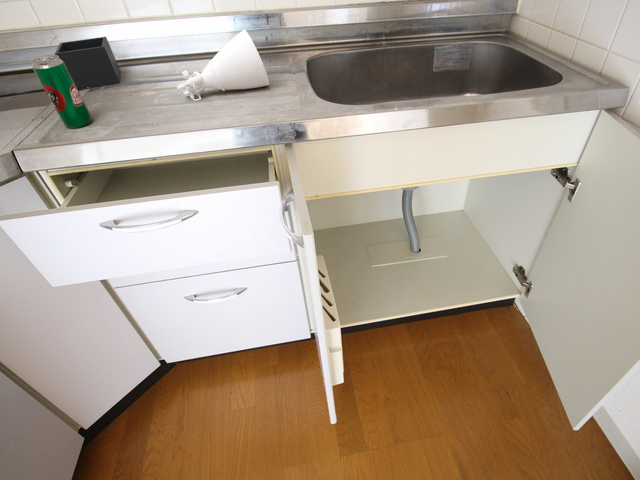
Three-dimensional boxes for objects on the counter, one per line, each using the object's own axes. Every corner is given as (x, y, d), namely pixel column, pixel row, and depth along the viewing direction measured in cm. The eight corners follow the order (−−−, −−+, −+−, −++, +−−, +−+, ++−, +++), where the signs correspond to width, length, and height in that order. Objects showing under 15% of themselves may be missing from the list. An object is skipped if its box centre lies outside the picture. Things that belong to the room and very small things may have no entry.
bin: (73, 90, 92) (54, 53, 87) (77, 77, 99) (60, 42, 94) (119, 83, 95) (104, 46, 89) (120, 71, 102) (106, 36, 96)
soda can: (92, 126, 77) (58, 60, 68) (64, 131, 75) (25, 64, 67) (94, 116, 80) (62, 52, 72) (67, 121, 79) (31, 56, 71)
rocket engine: (157, 53, 77) (241, 17, 79) (174, 77, 88) (247, 46, 91) (186, 107, 78) (267, 71, 80) (199, 125, 90) (270, 93, 92)
